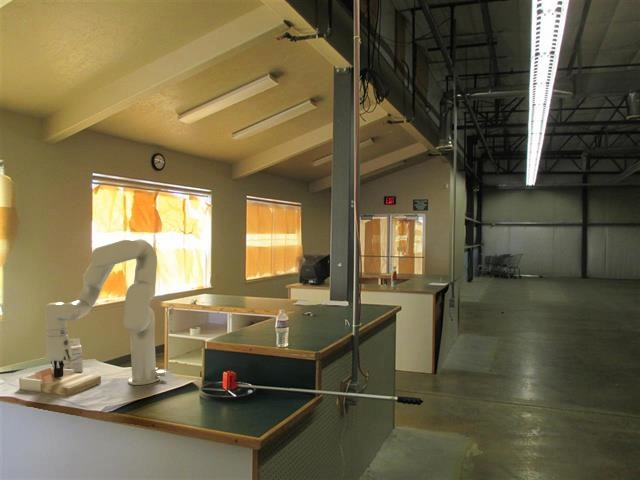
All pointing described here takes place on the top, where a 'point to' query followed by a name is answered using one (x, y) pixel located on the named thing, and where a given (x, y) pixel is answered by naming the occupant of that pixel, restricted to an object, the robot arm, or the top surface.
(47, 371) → the tile
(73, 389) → the board
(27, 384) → the tray
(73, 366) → the ink box
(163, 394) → the top surface
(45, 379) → the tile
